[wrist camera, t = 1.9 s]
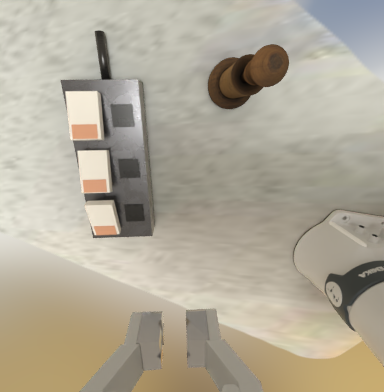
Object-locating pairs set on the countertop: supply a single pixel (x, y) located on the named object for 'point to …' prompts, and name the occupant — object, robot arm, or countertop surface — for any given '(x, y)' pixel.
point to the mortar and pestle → (246, 76)
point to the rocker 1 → (85, 115)
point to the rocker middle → (95, 171)
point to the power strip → (121, 146)
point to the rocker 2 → (103, 217)
